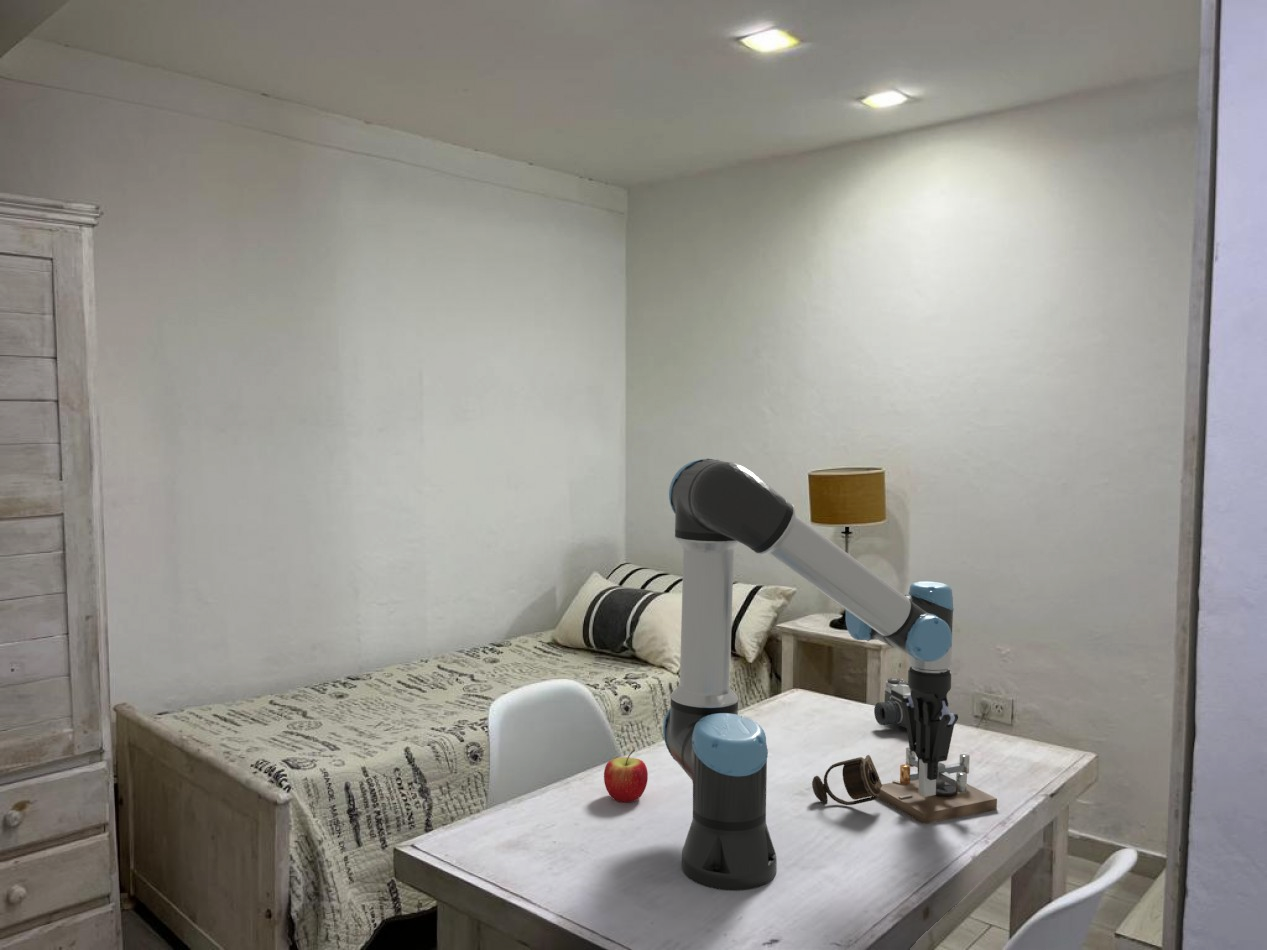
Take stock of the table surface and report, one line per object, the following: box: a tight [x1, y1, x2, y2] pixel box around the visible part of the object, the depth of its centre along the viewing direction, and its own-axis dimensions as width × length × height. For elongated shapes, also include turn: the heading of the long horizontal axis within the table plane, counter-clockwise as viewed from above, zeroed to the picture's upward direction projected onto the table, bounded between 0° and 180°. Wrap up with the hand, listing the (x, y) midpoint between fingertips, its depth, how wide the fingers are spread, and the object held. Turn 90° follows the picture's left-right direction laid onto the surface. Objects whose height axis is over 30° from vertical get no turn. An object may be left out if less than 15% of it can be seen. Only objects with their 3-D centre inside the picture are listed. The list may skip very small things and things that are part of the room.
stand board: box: [877, 779, 998, 825], centre depth 183 cm, size 17×14×2 cm
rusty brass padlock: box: [811, 754, 882, 806], centre depth 179 cm, size 7×13×10 cm, turn 78°
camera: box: [873, 677, 912, 729], centre depth 227 cm, size 16×10×10 cm, turn 15°
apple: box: [603, 748, 649, 803], centre depth 183 cm, size 8×8×10 cm
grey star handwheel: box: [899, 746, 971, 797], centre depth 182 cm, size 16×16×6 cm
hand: (927, 794), depth 178 cm, fingers closed
